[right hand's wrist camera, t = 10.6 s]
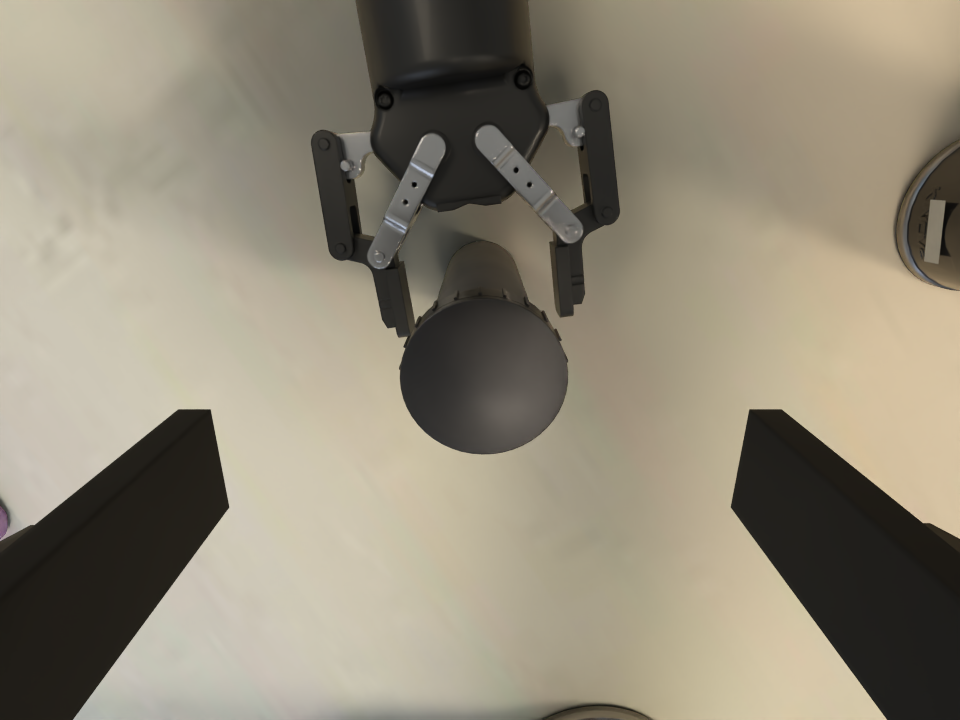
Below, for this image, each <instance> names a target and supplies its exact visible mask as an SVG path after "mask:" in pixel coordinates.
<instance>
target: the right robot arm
mask: <svg viewBox="0 0 960 720" xmlns="http://www.w3.org/2000/svg"><path fill="white" fill-rule="evenodd" d="M228 508H229V503H228V498H227V493H226V488H225V483H224V477H223V472H222V467H221V462H220V456H219V451H218V446H217V441H216V435H215V430H214V425H213V420H212V415H211V409H178V410H177V411H176V412H175V413H173V414H172V415H171V416H170V417H168V418H167V419H166V420H165V421H163V422H162V423H161V424H160V425H158V426H157V427H156V428H155V429H154V430H152V431H151V432H150V433H149V434H147V435H146V436H145V437H144V438H142V439H141V440H140V441H139V442H137V443H136V444H135V445H134V446H132V447H131V448H130V449H129V450H127V451H126V452H125V453H124V454H122V455H121V456H120V457H119V458H117V459H116V460H115V461H114V462H113V463H111V464H110V465H109V466H108V467H106V468H105V469H104V470H103V471H101V472H100V473H99V474H98V475H96V476H95V477H94V478H93V479H91V480H90V481H89V482H88V483H86V484H85V485H84V486H83V487H81V488H80V489H79V490H78V491H76V492H75V493H74V494H73V495H72V496H70V497H69V498H68V499H67V500H65V501H64V502H63V503H62V504H60V505H59V506H58V507H57V508H55V509H54V510H53V511H52V512H50V513H49V514H48V515H47V516H45V517H44V518H43V519H42V520H40V521H39V522H38V523H37V524H35V525H30V526H28V527H26V528H24V529H22V530H21V531H19V532H17V533H15V534H13V535H11V536H9V537H7V538H6V539H4V540H2V541H0V720H73V719H74V717H75V716H76V715H77V713H78V712H79V711H80V709H81V708H82V707H83V705H84V704H85V702H86V701H87V700H88V698H89V697H90V696H91V694H92V693H93V692H94V690H95V689H96V688H97V686H98V685H99V683H100V682H101V681H102V679H103V678H104V677H105V675H106V674H107V673H108V671H109V670H110V669H111V667H112V666H113V664H114V663H115V662H116V660H117V659H118V658H119V656H120V655H121V654H122V652H123V651H124V650H125V648H126V647H127V645H128V644H129V643H130V641H131V640H132V639H133V637H134V636H135V635H136V633H137V632H138V631H139V629H140V628H141V626H142V625H143V624H144V622H145V621H146V620H147V618H148V617H149V616H150V614H151V613H152V611H153V610H154V609H155V607H156V606H157V605H158V603H159V602H160V601H161V599H162V598H163V597H164V595H165V594H166V592H167V591H168V590H169V588H170V587H171V586H172V584H173V583H174V582H175V580H176V579H177V578H178V576H179V575H180V573H181V572H182V571H183V569H184V568H185V567H186V565H187V564H188V563H189V561H190V560H191V559H192V557H193V556H194V554H195V553H196V552H197V550H198V549H199V548H200V546H201V545H202V544H203V542H204V541H205V540H206V538H207V537H208V535H209V534H210V533H211V531H212V530H213V529H214V527H215V526H216V525H217V523H218V522H219V521H220V519H221V518H222V516H223V515H224V514H225V512H226V511H227V510H228ZM731 508H732V510H733V511H734V512H735V514H736V515H737V516H738V518H739V519H740V521H741V522H742V523H743V525H744V526H745V527H746V529H747V530H748V531H749V533H750V534H751V535H752V537H753V538H754V540H755V541H756V542H757V544H758V545H759V546H760V548H761V549H762V550H763V552H764V553H765V554H766V556H767V557H768V559H769V560H770V561H771V563H772V564H773V565H774V567H775V568H776V569H777V571H778V572H779V573H780V575H781V576H782V578H783V579H784V580H785V582H786V583H787V584H788V586H789V587H790V588H791V590H792V591H793V592H794V594H795V595H796V597H797V598H798V599H799V601H800V602H801V603H802V605H803V606H804V607H805V609H806V610H807V611H808V613H809V614H810V616H811V617H812V618H813V620H814V621H815V622H816V624H817V625H818V626H819V628H820V629H821V630H822V632H823V633H824V635H825V636H826V637H827V639H828V640H829V641H830V643H831V644H832V645H833V647H834V648H835V650H836V651H837V652H838V654H839V655H840V656H841V658H842V659H843V660H844V662H845V663H846V664H847V666H848V667H849V669H850V670H851V671H852V673H853V674H854V675H855V677H856V678H857V679H858V681H859V682H860V683H861V685H862V686H863V688H864V689H865V690H866V692H867V693H868V694H869V696H870V697H871V698H872V700H873V701H874V702H875V704H876V705H877V707H878V708H879V709H880V711H881V712H882V713H883V715H884V716H885V717H886V719H887V720H960V539H959V538H957V537H955V536H953V535H951V534H949V533H947V532H946V531H944V530H942V529H940V528H938V527H936V526H934V525H932V524H930V523H922V522H921V521H920V520H918V519H917V518H916V517H915V516H913V515H912V514H911V513H910V512H908V511H907V510H906V509H905V508H903V507H902V506H901V505H900V504H898V503H897V502H896V501H895V500H893V499H892V498H891V497H890V496H889V495H887V494H886V493H885V492H884V491H882V490H881V489H880V488H879V487H877V486H876V485H875V484H874V483H872V482H871V481H870V480H869V479H867V478H866V477H865V476H864V475H862V474H861V473H860V472H859V471H857V470H856V469H855V468H854V467H852V466H851V465H850V464H849V463H847V462H846V461H845V460H844V459H843V458H841V457H840V456H839V455H838V454H836V453H835V452H834V451H833V450H831V449H830V448H829V447H828V446H826V445H825V444H824V443H823V442H821V441H820V440H819V439H818V438H816V437H815V436H814V435H813V434H811V433H810V432H809V431H808V430H806V429H805V428H804V427H803V426H802V425H800V424H799V423H798V422H797V421H795V420H794V419H793V418H792V417H790V416H789V415H788V414H787V413H785V412H784V411H783V410H782V409H749V415H748V420H747V425H746V430H745V436H744V441H743V446H742V451H741V456H740V462H739V467H738V472H737V477H736V483H735V488H734V493H733V498H732V504H731ZM544 720H650V719H649V718H647V717H645V716H643V715H641V714H638V713H636V712H633V711H630V710H626V709H622V708H616V707H607V706H590V707H581V708H575V709H570V710H566V711H563V712H560V713H557V714H555V715H552V716H550V717H548V718H546V719H544Z"/></svg>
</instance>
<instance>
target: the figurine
mask: <svg viewBox="0 0 960 720" xmlns="http://www.w3.org/2000/svg"><path fill="white" fill-rule="evenodd" d="M7 528H8V516H7V514H6V512H5V511H4V509H3V508H2V507H1V506H0V539H1V538H2V537H3V536H4V535H5V533H6V531H7Z"/></svg>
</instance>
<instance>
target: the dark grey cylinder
mask: <svg viewBox="0 0 960 720" xmlns="http://www.w3.org/2000/svg"><path fill="white" fill-rule="evenodd" d="M478 286H482V288H492V289H499V290H502V288H505V289H506V291H508V292H510V293H513V294H516V295H518V296H520V297H522V298H524V296H525V297H527V294H526V291H525V289H524V286H523V283H522V281H521V278H520V275H519V272H518V270H517V267H516V264H515V262H514V260H513V258H512V257H511V255H510V254H509V253H508V252H507V251H506V250H505V249H504V248H502V247H501V246H499V245H497V244H495V243H492V242H486V241H478V242H473V243H469V244H467V245H465V246H463V247H462V248H460V249H459V250H458V251H457V252H456V253H455V254H454V255H453V257H452V258H451V260H450V262H449V265H448V268H447V271H446V274H445V277H444V280H443V283H442V286H441V289H440V292H439V295H438V298H437V301H438V302H439V301H441V300H442V299H444V298H445V297H448V296H450V295H452V294H454V293H455V291H456V290H458V291H459V292H461V291H464V290H469V289H475V288H478ZM527 299H528V297H527ZM528 301H529V300H528Z"/></svg>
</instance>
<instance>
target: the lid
mask: <svg viewBox="0 0 960 720" xmlns="http://www.w3.org/2000/svg"><path fill="white" fill-rule="evenodd" d="M414 327H415V328H414V330H413V332H412V334H411V336H410V335H408V337H407V339H406V342H405V344H404V348H405V351H404V354H403V357H402V362H401V364H400V366H399V370H400V385H401V391H402V395H403V399H404V401H405V404H406V407H407V409H408V410H409V412H410V414H411V416H412V417H413V419H414V420H415V421H416V423H417V424H418V425H419V426H420V427H421V428H422V429H423V430H424V431H425V432H426V433H427V434H428V435H429V436H431V437H432V438H433V439H435V440H436V441H438V442H440V443H441V444H443V445H445V446H447V447H450V448H452V449H455V450H458V451H461V452H466V453H471V454H495V453H502V452H506V451H509V450H513V449H515V448H518V447H520V446H523V445H524V444H526V443H528V442H530V441H532V440H533V439H534V438H536V437H537V436H538V435H540V434H541V433H542V432H543V431H544V430H545V429H546V428H547V427H548V426H549V425H550V424H551V422H552V421H553V420H554V418H555V417H556V415H557V414H558V412H559V410H560V408H561V406H562V404H563V401H564V398H565V395H566V391H567V385H568V368H567V362H568V359H567V357H566V355H565V353H564V350H563V348H562V346H561V344H560V341H561V338H560V335H559V333H558V331H557V329H554V328H553V327H552V325H551V324H550V322H549V320H548V318H547V316H546V313H545V312H544V311H542V312H541V311H540V310H539V309H538V308H537V307H536V306H534V305H533V304H532V303H530V302H529V301H528V299H527V297H525V296H524V298H522V297H520V296H518V295H516V294H513V293H510V292H508V291H506V289H505V288H502V290H499V289H492V288H482V286H478V288H475V289H469V290H464V291H461V292H459V291H458V290H456V291H455V293H454V294H452V295H450V296H448V297H445V298H444V299H442V300H441V301H439V302H438V301H437V300H436V301H435V302H434V304H433V306H432V307H431V308H430V309H429V310H428V311H427V312H426V313H425V314H424V315H423V316H422V317H421V316H419V317H418V319H417V322H416V324H415V326H414Z"/></svg>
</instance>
